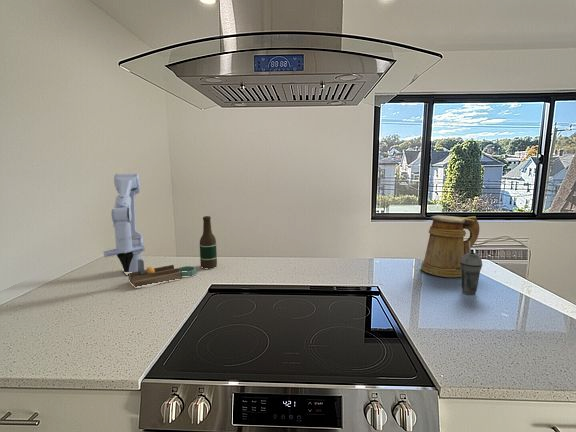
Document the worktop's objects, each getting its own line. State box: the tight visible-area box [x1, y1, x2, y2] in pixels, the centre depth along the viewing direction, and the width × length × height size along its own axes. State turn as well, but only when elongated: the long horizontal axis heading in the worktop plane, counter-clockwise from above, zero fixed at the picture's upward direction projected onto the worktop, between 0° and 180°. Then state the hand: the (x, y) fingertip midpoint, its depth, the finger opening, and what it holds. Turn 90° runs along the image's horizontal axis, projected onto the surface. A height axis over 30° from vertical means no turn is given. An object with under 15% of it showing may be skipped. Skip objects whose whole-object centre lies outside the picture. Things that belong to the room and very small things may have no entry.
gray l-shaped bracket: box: [137, 258, 146, 276], centre depth 142 cm, size 4×2×7 cm, turn 38°
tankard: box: [420, 215, 480, 278], centre depth 154 cm, size 18×24×25 cm
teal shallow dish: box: [178, 265, 197, 277], centre depth 154 cm, size 8×8×2 cm
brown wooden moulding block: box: [128, 264, 182, 287], centre depth 145 cm, size 10×18×4 cm, turn 128°
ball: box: [145, 266, 155, 274], centre depth 144 cm, size 4×4×4 cm
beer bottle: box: [199, 215, 218, 269], centre depth 162 cm, size 8×8×24 cm
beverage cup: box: [460, 241, 483, 296], centre depth 129 cm, size 7×7×20 cm
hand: (126, 271), depth 138 cm, fingers closed
